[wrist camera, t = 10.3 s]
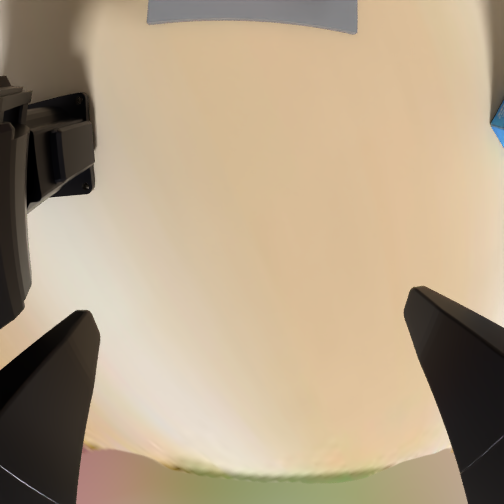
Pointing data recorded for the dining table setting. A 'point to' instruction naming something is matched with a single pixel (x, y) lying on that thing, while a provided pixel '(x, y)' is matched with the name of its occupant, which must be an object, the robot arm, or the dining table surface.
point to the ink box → (499, 124)
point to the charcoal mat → (259, 12)
